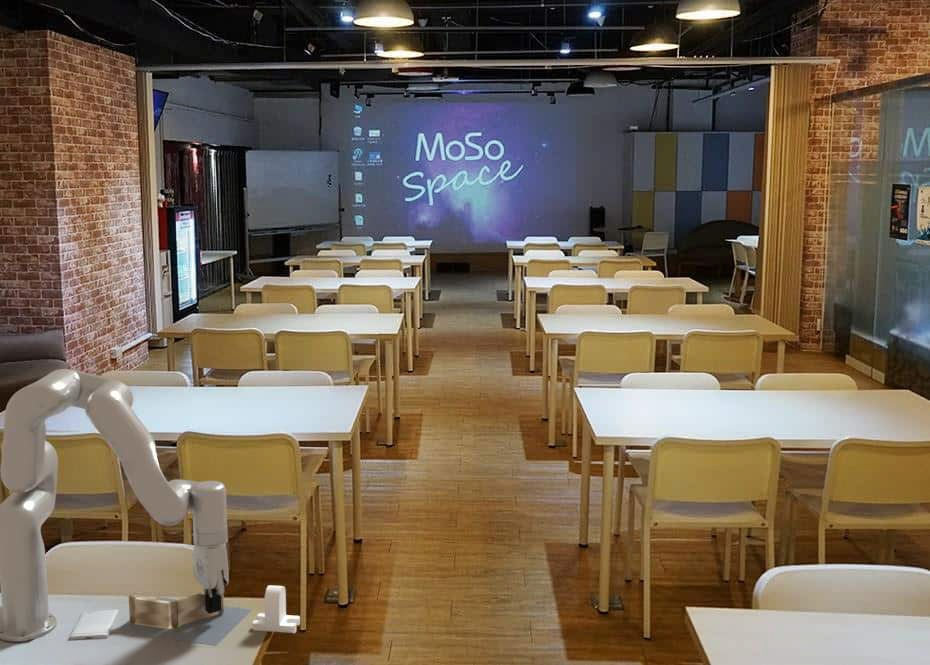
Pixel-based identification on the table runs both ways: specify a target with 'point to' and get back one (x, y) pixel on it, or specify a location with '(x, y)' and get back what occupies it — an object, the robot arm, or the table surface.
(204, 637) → the card
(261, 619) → the cable organizer
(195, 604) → the fence swing panel
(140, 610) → the fence fixed section
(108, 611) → the hard drive
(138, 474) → the robot arm
